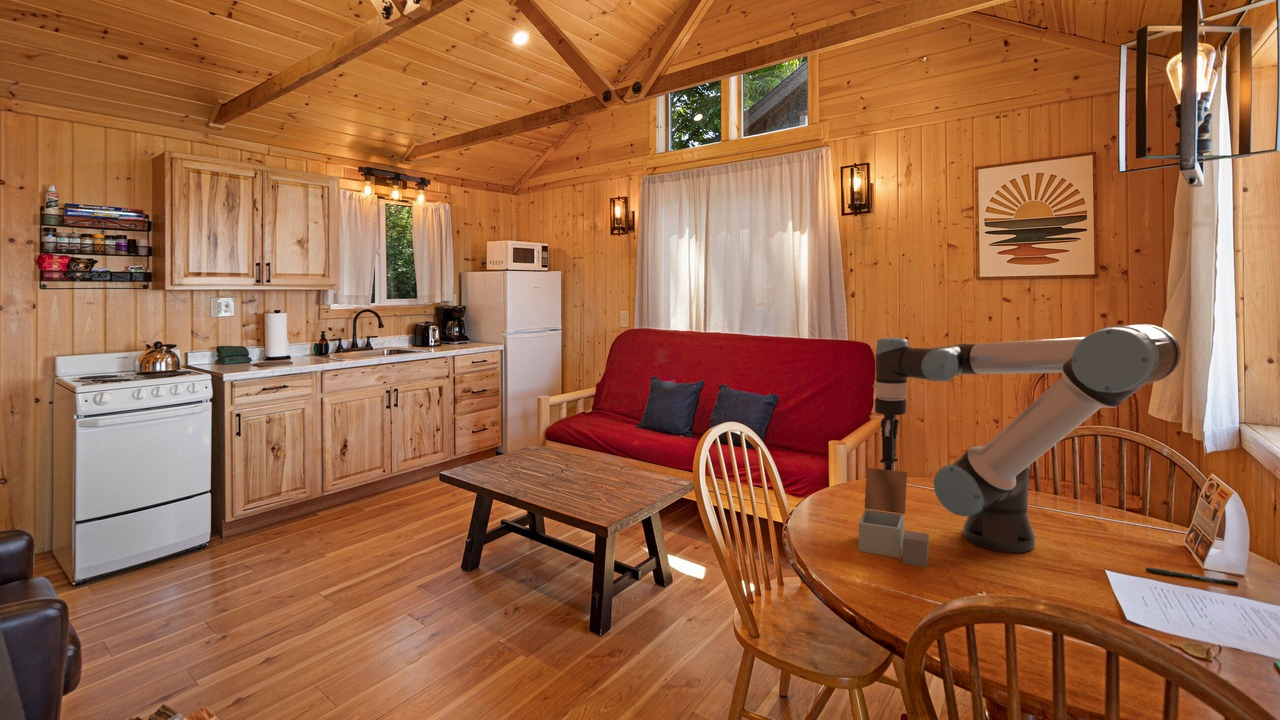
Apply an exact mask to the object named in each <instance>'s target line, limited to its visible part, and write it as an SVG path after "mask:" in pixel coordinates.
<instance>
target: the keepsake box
mask: <svg viewBox="0 0 1280 720" xmlns="http://www.w3.org/2000/svg"><path fill="white" fill-rule="evenodd" d="M904 519H905V514H901V513H894V512H886V511H879V510H872V509H865V508H864V510H863V513H862V515H861V518H860V520H859V521H858V550H857V551H858V552H862V553H868V554H873V555H874V554H875V555H879V556H885V557H890V558H891V557H892V558H898V559H900V557H901V551H902V550H903V537H904V534H905V530H904V527H905V526H904V525H905V524H904V523H905V520H904Z"/></svg>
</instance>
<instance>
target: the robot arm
mask: <svg viewBox="0 0 1280 720" xmlns="http://www.w3.org/2000/svg"><path fill="white" fill-rule="evenodd" d="M908 341H909V340H908V339H906V338H902V337H882V338H879V339H878V340H877V341H876V350H875V355H874V356H875V383H874V384H873V386H872V388H874V389H875V394H874V395H875V397H876V398H875V399H874V412H875V413H876V414H880V415H883V418H882V419H881V421H880V427H881V441H882V443H881V446H882V447H881V449H882V450H881V451H882V452H881V453H882V455H881V456H882V458H881V459H880V461H879V462H880V463H881V464H882V470H892V471H896V470H895V469H896V462H897V463H898V461H899V458H896V456H897V453H896V452H897V436H898V432H899V431H898V429H899V428H898V427H899V424H900V419H897V416H902V415H905V414H906V413H907V400H906V397H908V378H912V379H920V380H929V381H932V382H950V381H951V380H952V379H953V378H954V377H955V376H960V375H961V376H962V375H963V376H964V375H993V374H994V375H995V374H997V375H998V374H1000V375H1001V374H1050V373H1051V374H1053V373H1054V374H1057V373H1058V374H1061V377H1060V378H1059V379H1058V380H1057V381H1056V382H1055V383H1054V384H1053V385H1051V386H1050V387H1049V388H1048V389H1047V390H1045V392H1043V393H1042V394H1041V395H1040V396H1039V397H1038V398H1037V399H1036V400H1034V401H1033V402H1032V403H1031V404H1030V405H1029V406H1028V407H1027V408H1025V409H1024V410H1023V411H1022V412H1020V413H1019V415H1017V416H1016V417H1015V418H1014V419H1013V420H1012V421H1011V422H1010V423H1008V424H1007V425H1006V426H1005V427H1004V428H1003V429H1001V431H999V433H997V434H996V435H995V436H994V437H992V439H990V440H989V441H988V442H987V443H986V444H985V445H977V446H973V447H970V448H969V449H968V450H967V451H966V452H965V453H964V454H963V455H962V456H960V457H959V458H958V459H957V460H956V461H954V462H953V463H951V464H947V465H945V466H942V467H941V468H940V469H938V471H936V473H935V476H934V478H933V489H934V493H935V496H936V498H937V500H938V502H939V503H940V504H941V505H942V506H943V507H944V508H945V509H946V510H947V511H949V512H950V513H952V514H954V515H957V516H960V517H966V520H965V522H964V525H963V534H962V535H963V537H964V539H965V540H966V541H967V542H968V543H971V544H973V545H974V546H978V547H979V548H983V549H986V550H990V551H994V552H999V553H1001V552H1002V553H1009V554H1012V553H1013V554H1014V553H1015V554H1018V553H1019V554H1020V553H1026V552H1029V551H1032V550H1033V549H1035V545H1036V544H1035V543H1036V541H1035V540H1036V539H1035V538H1036V537H1035V534H1034V530H1033V527H1032V525H1031V524H1032V523H1031V521H1030V518H1029V516H1028V506H1029V505H1028V502H1029V486H1030V485H1029V484H1030V483H1029V482H1030V470H1031V467H1030V466H1031V465H1032V464H1033V463H1034V462H1036V460H1038V459H1039V458H1040V457H1043V455H1044V454H1046V453H1047V452H1048V451H1049V450H1051V448H1053V447H1054V446H1056V445H1057V444H1058V443H1059V442H1061V441H1062V440H1063V439H1064V438H1065V437H1067V436H1068V435H1069V434H1070V433H1072V432H1073V431H1074V430H1075V429H1076V428H1078V427H1080V426H1081V424H1083V423H1084V422H1085V421H1087V420H1088V419H1089V418H1090V417H1091V416H1093V415H1094V414H1095V413H1096V412H1098V411H1099V410H1100V409H1101V408H1110V409H1112V408H1114V409H1115V408H1117V407H1118V406H1120V405H1121V404H1122V403H1124V401H1126V400H1127V399H1128V398H1130V397H1131V396H1132V395H1134V394H1135V393H1136V392H1137V391H1140V389H1142V388H1143V387H1144V386H1146V385H1150V384H1152V383H1155V382H1158V381H1161V380H1163V379H1165V378H1167V377H1168V376H1170V375H1171V374H1172V373H1173V372H1175V370H1176V369H1177V367H1178V366H1179V363H1180V361H1181V355H1182V354H1181V353H1182V352H1181V346H1180V344H1179V341H1178V340H1177V339H1176V338H1175V336H1174V335H1173V334H1172V333H1170V332H1169V331H1168V330H1166V329H1164V328H1163V327H1160V326H1157V325H1154V324H1147V323H1135V324H1130V325H1129V324H1128V325H1115V326H1107V327H1103V328H1101V329H1098V330H1096V331H1093V332H1092V333H1089V334H1088V335H1086V336H1080V337H1077V336H1076V337H1068V338H1067V337H1065V338H1064V337H1063V338H1047V339H1035V340H1034V339H1033V340H1029V339H1028V340H1017V341H1016V340H1014V341H1001V342H999V341H998V342H985V343H984V342H983V343H970V344H969V343H960V344H959V343H958V344H957V343H956V344H955V345H954V344H953V345H949V346H948V345H947V346H938V347H931V348H929V347H928V348H926V347H925V348H924V347H911V346H909V342H908Z"/></svg>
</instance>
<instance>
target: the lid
mask: <svg viewBox="0 0 1280 720" xmlns="http://www.w3.org/2000/svg"><path fill="white" fill-rule="evenodd" d="M865 472H866V474H865V492H864V493H865V495H864V496H865V497H864V510H865V509H867V510H874V511H882V512H889V513H896V514H903V515H905V514H906V505H907V504H906V503H907V502H906V501H907V483H908V482H907V479H908V478H907V477H908V472H907V471H900V470H895V471H892V470H883V468H881V469H880V468H872V467H871V468H870V467H866V471H865Z"/></svg>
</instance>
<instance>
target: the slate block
mask: <svg viewBox="0 0 1280 720" xmlns="http://www.w3.org/2000/svg"><path fill="white" fill-rule="evenodd" d="M929 541H930V534H929V533H925V532H919V531H912V530H906V529H905V530H904V536H903V545H902V564H904V565H911V566H915V567H923V568H928V565H929V564H928V562H929V543H930V542H929Z"/></svg>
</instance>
